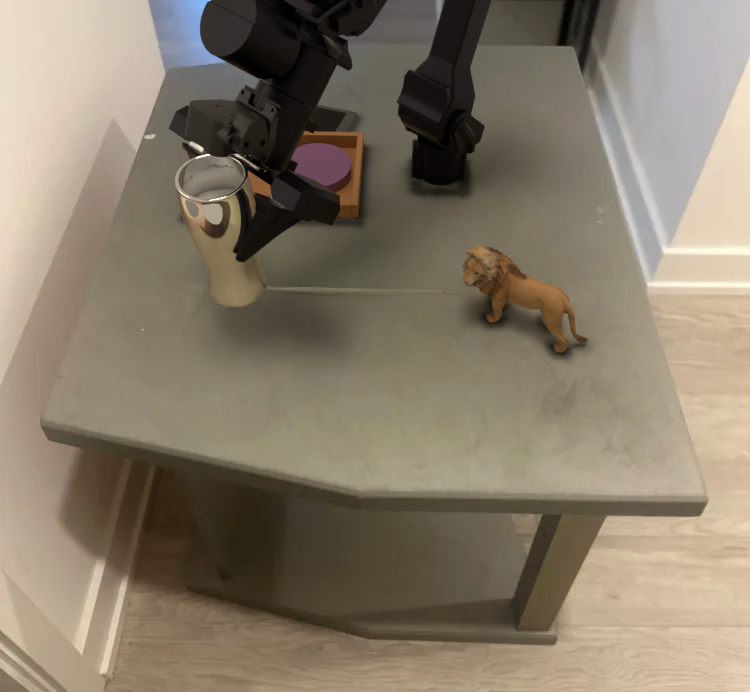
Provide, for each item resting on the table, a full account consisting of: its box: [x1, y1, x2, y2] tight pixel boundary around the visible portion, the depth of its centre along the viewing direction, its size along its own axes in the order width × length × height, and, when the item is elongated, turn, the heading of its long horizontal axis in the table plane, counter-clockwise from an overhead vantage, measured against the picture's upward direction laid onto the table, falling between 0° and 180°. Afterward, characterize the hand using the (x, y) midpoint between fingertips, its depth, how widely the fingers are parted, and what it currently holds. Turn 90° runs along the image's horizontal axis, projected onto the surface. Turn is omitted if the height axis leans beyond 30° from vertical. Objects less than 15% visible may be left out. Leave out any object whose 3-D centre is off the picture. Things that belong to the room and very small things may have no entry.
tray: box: [245, 131, 365, 219], centre depth 95 cm, size 22×15×3 cm
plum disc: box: [291, 143, 352, 192], centre depth 96 cm, size 9×9×2 cm
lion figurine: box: [461, 244, 588, 354], centre depth 78 cm, size 15×5×9 cm, turn 66°
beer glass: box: [174, 154, 268, 308], centre depth 72 cm, size 7×7×15 cm
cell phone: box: [305, 104, 358, 132], centre depth 104 cm, size 7×14×1 cm, turn 71°
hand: (216, 243), depth 72 cm, fingers closed on beer glass, 7 cm apart
